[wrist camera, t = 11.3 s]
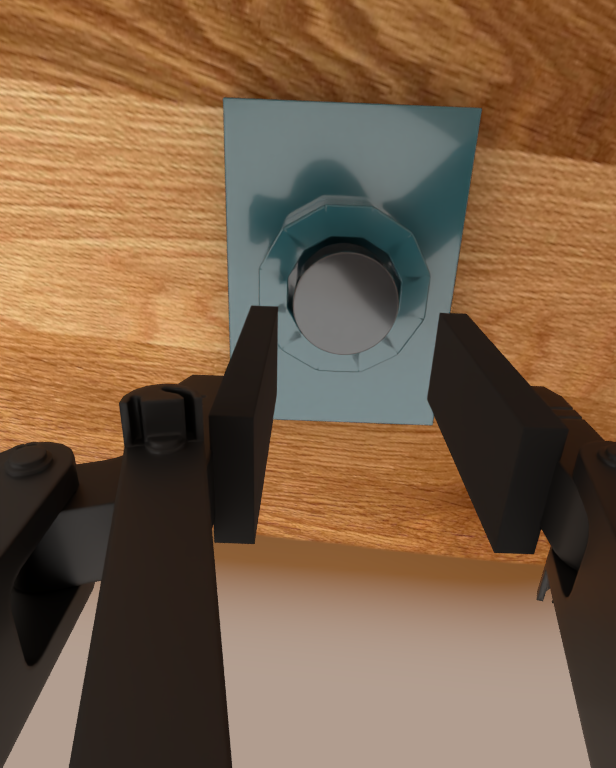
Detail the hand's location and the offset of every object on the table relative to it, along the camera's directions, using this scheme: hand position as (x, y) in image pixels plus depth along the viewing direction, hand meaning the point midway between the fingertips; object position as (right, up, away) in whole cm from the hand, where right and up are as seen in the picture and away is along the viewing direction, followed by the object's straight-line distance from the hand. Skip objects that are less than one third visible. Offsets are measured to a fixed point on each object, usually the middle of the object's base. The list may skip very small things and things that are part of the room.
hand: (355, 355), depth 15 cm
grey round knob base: (0, +4, +10) cm, 11 cm away
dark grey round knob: (0, +3, +6) cm, 7 cm away
